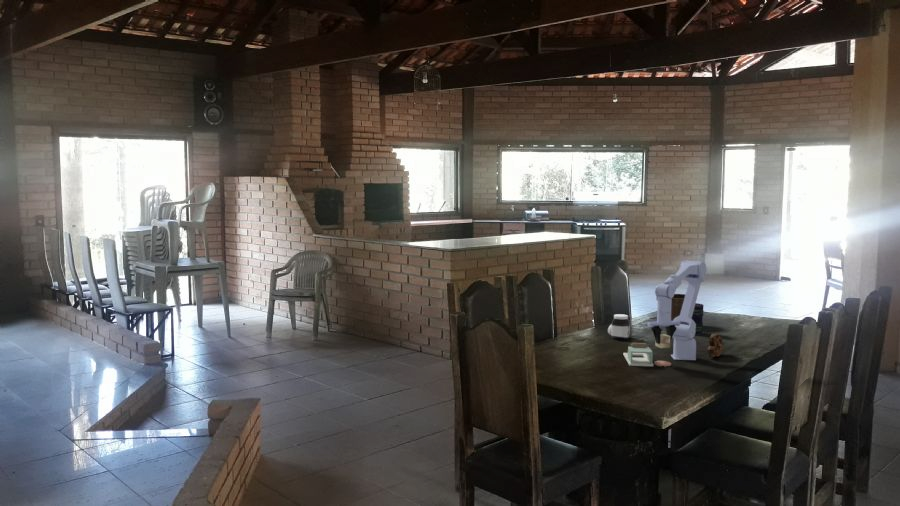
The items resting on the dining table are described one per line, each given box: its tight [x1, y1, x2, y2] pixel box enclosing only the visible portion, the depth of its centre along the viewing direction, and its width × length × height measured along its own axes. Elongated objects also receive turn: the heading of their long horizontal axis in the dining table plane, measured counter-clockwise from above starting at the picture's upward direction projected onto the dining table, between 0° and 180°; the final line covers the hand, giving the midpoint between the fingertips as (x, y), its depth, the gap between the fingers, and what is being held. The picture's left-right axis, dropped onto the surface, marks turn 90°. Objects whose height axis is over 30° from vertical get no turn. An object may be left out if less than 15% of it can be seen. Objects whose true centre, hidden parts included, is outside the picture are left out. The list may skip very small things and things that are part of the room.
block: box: [654, 333, 671, 349], centre depth 314 cm, size 4×4×5 cm
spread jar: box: [607, 313, 631, 341], centre depth 367 cm, size 12×11×12 cm
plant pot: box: [671, 293, 686, 321], centre depth 398 cm, size 16×16×16 cm
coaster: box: [653, 360, 672, 367], centre depth 315 cm, size 7×7×1 cm
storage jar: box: [692, 302, 705, 336], centre depth 378 cm, size 10×10×15 cm
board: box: [623, 352, 654, 367], centre depth 322 cm, size 10×20×1 cm, turn 174°
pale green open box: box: [627, 342, 653, 364], centre depth 316 cm, size 9×9×7 cm
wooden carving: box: [707, 333, 725, 358], centre depth 329 cm, size 16×5×10 cm, turn 148°
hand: (663, 343), depth 314 cm, fingers closed on block, 4 cm apart
